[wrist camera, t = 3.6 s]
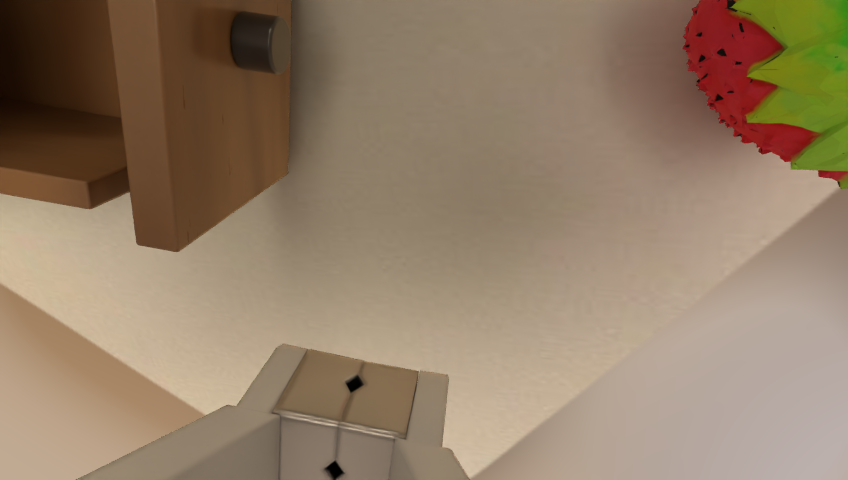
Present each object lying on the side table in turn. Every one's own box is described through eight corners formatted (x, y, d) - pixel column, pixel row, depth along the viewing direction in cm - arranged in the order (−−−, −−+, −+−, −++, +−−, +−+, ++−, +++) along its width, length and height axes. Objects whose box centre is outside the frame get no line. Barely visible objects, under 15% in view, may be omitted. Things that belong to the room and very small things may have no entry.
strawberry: (766, -117, 15) (1201, -349, 6) (884, 64, 17) (1376, 103, 7) (609, 26, 17) (750, 19, 8) (727, 175, 19) (960, 313, 9)
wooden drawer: (330, -129, 15) (199, -266, 8) (317, 178, 20) (221, 261, 13) (-64, -182, 16) (-494, -349, 9) (5, 125, 20) (-251, 176, 13)
